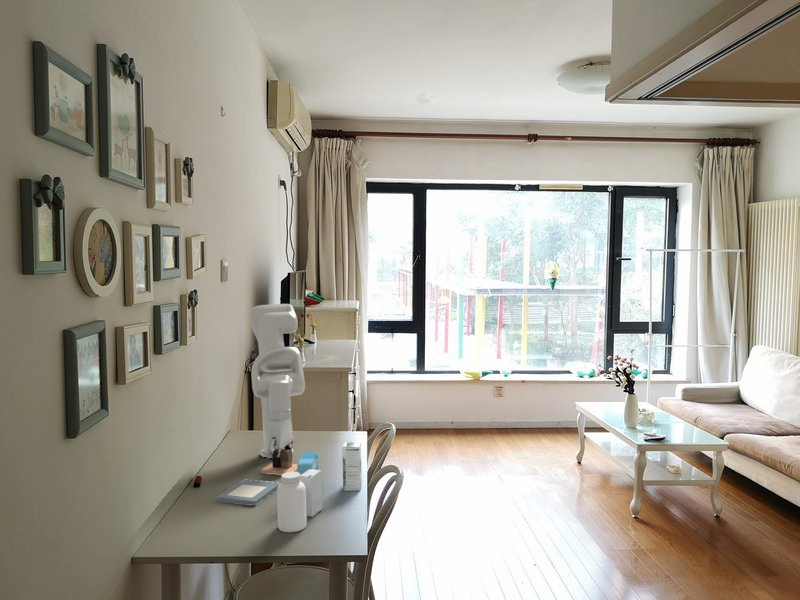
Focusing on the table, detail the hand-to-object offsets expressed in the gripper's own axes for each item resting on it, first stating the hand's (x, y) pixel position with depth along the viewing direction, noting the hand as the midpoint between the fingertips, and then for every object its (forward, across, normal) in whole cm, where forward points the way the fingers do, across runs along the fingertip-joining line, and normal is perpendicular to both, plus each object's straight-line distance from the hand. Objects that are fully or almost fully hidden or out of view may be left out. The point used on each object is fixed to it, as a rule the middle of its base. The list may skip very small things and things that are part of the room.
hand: (282, 463), depth 214 cm
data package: (+3, +17, +19) cm, 26 cm away
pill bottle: (+3, +39, +25) cm, 47 cm away
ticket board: (+3, +21, 0) cm, 21 cm away
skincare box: (+3, +29, +26) cm, 39 cm away
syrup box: (+3, +8, +30) cm, 32 cm away
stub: (+3, 0, 0) cm, 3 cm away
